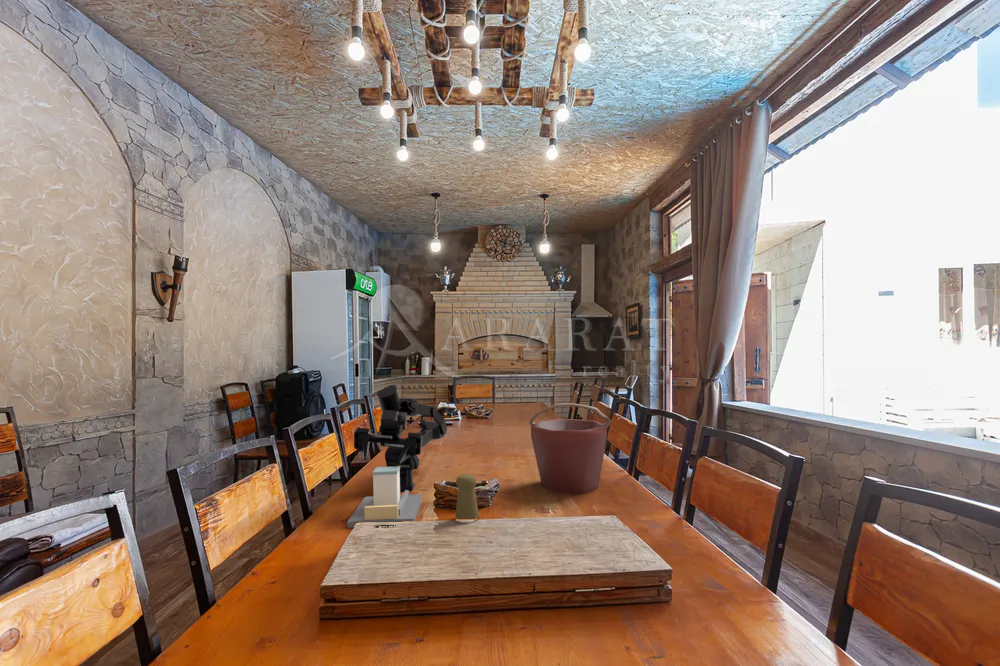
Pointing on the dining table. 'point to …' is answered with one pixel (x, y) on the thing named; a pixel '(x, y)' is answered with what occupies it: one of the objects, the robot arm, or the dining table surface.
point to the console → (387, 510)
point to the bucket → (569, 451)
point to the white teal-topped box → (386, 485)
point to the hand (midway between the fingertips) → (381, 460)
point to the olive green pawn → (466, 497)
